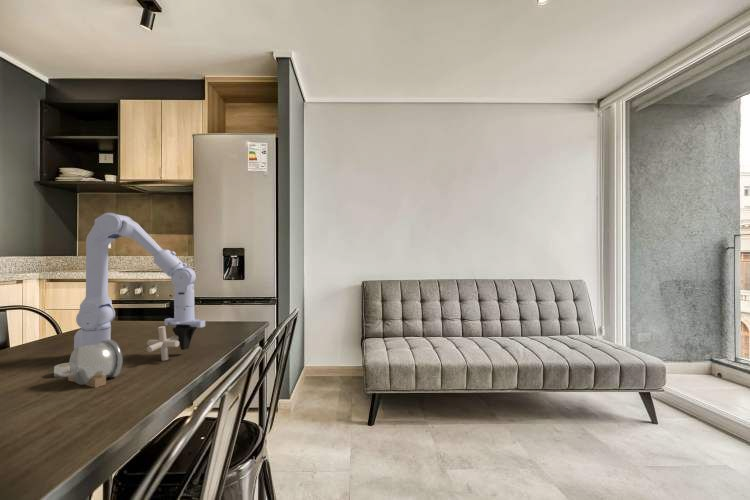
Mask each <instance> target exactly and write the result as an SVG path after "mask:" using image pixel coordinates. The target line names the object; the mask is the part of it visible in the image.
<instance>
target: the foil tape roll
mask: <svg viewBox="0 0 750 500" xmlns="http://www.w3.org/2000/svg"><path fill="white" fill-rule="evenodd" d="M68 372H70V367H69V362H64V363H60V364H55V365H54V366H53V377H54V378H65V377H66V378H68Z"/></svg>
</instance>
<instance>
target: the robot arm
mask: <svg viewBox="0 0 750 500" xmlns="http://www.w3.org/2000/svg"><path fill="white" fill-rule="evenodd" d="M122 237H124V238H129V239H132V240H134V241H135V242H136V243H137V244H138V245H140V247H142V248H143V249H145V250H146V251H147V253H149V254H150V255H151V256H152V257H153V263H154V264H155V265H156V266H157V267H158V268H159V269H160V270H161V271H162V272H163V273H164V274H166V275H167V276H168V277H169V278H170V282H171V284H172V285H173V309H174V310H173V313H174V315H173V318H172V317H169V318H164V326H175V327H172V332H173V333H174V336H175V335H177V336H178V337H179V339H178V341H179V348H180V350H183V351H184V350H188V349H190V346H191V341H192V338H193V335H194V333H195V331H196V330H197V328H200V329H201V328H204V327H206V320H202V319H199V318H195V317H196V315H195V311H196V310H195V283H194V282H196V279H197V274H196V272H195V270H194V268H192V267H189V266H188V264H187V263H186V262H183V261H182V260H181V259H180V258H178V257H177V256H176V255H177V253H176V252H175V251H171V250H170V249H163V248H162V247H161V246H160V245H159V244H158V243H157V242H156V241H155V240H154V239H153V238H152V237H151V236H150V234H149V233H147V231H145V229H143V228H142V226H141V225H140V224H139V223H138V222H136V221H134V220H133V219H132V217H130V216H128V215H125V214H124V215H123V214H122V215H121V214H117V213H114V212H105V213H103V214H101V215H99V216H98V217H97V218H95V219H94V224H93V226H92V228H91V229H90V230H89V232H88V234H87V236H86V239H85V241H86V242H85V243H86V244H85V297H84V299H83V300H82V302H80V305H79V311H78V313H77V314H76V317H75V322H76V325H77V326H78V327H79V328H80V329H78V330H77V331H76V332H75V334H74V337H73V350H74V349H76V348H78V347H82V346H87V345H92V344H97V343H100V342H102V341H104V340H112V339H111V334H112V333H111V332H112V325H111V322H112V321H113V320H114V319H115V317H116V311H115V308H114V306H113V304H112V302H113V301H112V299H111V297H110V296H109V245H110V244H111V243H113V242H115V241H116V240H117V239H119V238H122Z"/></svg>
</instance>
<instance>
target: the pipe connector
mask: <svg viewBox="0 0 750 500" xmlns="http://www.w3.org/2000/svg"><path fill="white" fill-rule="evenodd" d="M157 330H158V338H159V339H148V340H147V342H146V345H148V346H147V347H146V351H147V352H148V353H152V352H154V351H157V350H159V349H160V358H161V361H163V362H165V361H168V360H170V358H169V352H168V351H169V350H168V347H170V348H172V347H173V348H178V347H180V344H179V341H178V339H179V337H178V336H177V335H175V334H174V335H173V336H170V337H168V338H167V332H166V331H167V330H166V325H163V326H159V327H157Z"/></svg>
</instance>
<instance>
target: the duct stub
mask: <svg viewBox="0 0 750 500" xmlns="http://www.w3.org/2000/svg"><path fill="white" fill-rule="evenodd" d="M68 363H69V367H70V372H68V376H67V381H68V382H72V383H75V384H78V385H84V386H87V387H92V388H98V387H102V386H106V385H107V378H108V379H113V378H116V377H117V376H118V375H119V374H120V373H121V371H122V368H123V363H124V357H123V353H122V349H121V346H120V345H119V344H118V342H116V341H115V340H113V339H111V340H104V341H102V342H100V343H97V344H92V345H87V346H82V347H78V348H76V349H74V348H73V350H72V351H71V354H70V356H69V362H68Z"/></svg>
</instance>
